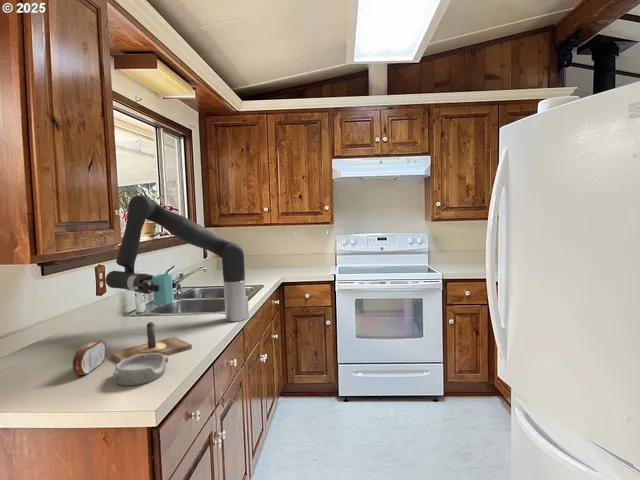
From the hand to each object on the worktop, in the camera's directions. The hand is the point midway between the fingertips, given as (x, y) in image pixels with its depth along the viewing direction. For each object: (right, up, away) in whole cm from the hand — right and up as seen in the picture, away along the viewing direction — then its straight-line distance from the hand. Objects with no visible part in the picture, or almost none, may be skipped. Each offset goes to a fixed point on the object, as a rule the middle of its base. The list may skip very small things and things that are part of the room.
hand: (166, 286), depth 150 cm
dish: (+3, -24, -29) cm, 37 cm away
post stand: (-2, -22, -8) cm, 23 cm away
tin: (-15, -24, -22) cm, 35 cm away
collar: (-2, -6, +2) cm, 6 cm away
